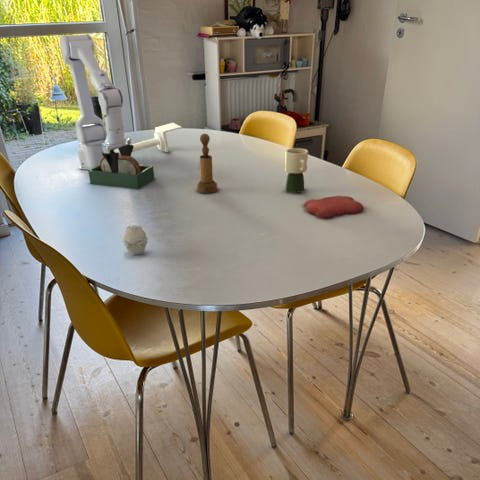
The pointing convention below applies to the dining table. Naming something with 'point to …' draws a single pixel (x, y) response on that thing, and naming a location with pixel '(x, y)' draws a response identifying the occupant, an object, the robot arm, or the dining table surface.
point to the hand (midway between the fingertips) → (121, 169)
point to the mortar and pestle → (206, 168)
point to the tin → (122, 165)
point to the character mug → (295, 168)
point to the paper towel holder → (156, 139)
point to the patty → (333, 206)
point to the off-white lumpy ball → (135, 239)
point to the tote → (122, 177)
